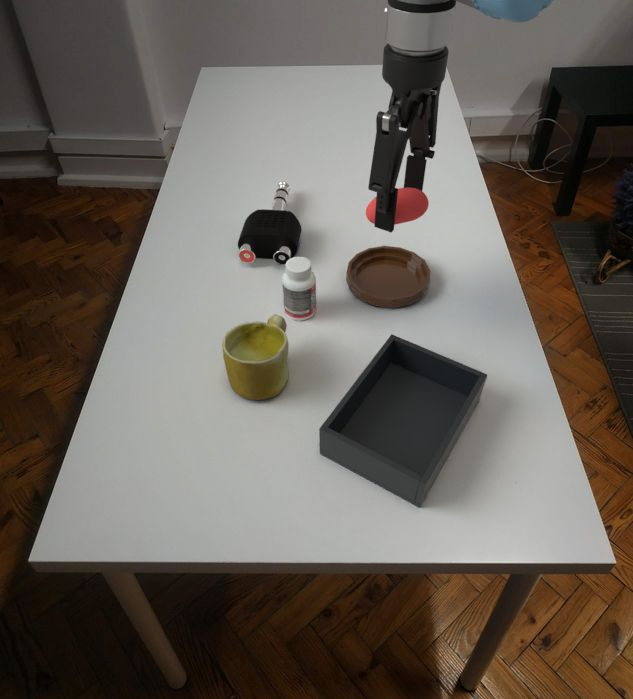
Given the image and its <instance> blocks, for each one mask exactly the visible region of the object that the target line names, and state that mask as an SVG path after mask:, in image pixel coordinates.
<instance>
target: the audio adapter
mask: <svg viewBox="0 0 633 699" xmlns="http://www.w3.org/2000/svg"><path fill="white" fill-rule="evenodd" d="M290 191H291V186H290V184H289V183H288V182H286V181H280V182H279V183H278V184H277V187H276V189H275V192H274V196H273V199H272V203H271V205H270V209H256V210H254V211H253V212H251V213H250V214H249V215H248V216H247V217H246V219H245V220H244V223H243V226H242V229H241V231H240V235H239V238H238V241H237V248H238V250H239V251H238V253H237V254H238V258H239V260H240V261H241V262H242V263H245V264H251V263H253V262H254V261H255V260H256V259H263V260H264V259H267V260H273V261H274V262H275V263H276V264H278V265H280V266H285V265H286V262H287V261H288V260H289V259H291V258H293V257H296V255H297V253H298V249H299V245H300V240H301V236H302V230H303V229H302V225H301V222H300V221H299V219H298V217H297V216H296V215H295V214H294V213H293V211H291V210H286V207H287V204H288V200H289V195H290Z"/></svg>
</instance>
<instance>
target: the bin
mask: <svg viewBox="0 0 633 699" xmlns="http://www.w3.org/2000/svg"><path fill="white" fill-rule="evenodd" d="M487 379H488V374H487V373H485V372H483V371H481V370H478V369H475V368H473V367H471V366H468V365H466V364H464V363H461V362H459V361H456V360H454V359H451V358H449V357H447V356H445V355H442V354H440V353H437V352H435V351H433V350H430V349H428V348H426V347H423V346H421V345H420V344H416V343H413V342H412V341H409V340H407V339H404V338H402V337H400V336H397V335H395V334H393V333H391V334H390V335H389V337H388V338H387V339H386V340H385V343H383V345H382V346H381V347H380V349H379V350H378V351H377V353H375V355H374V357H373V358H372V359H371V360H370V362H369V363H368V364H367V365H366V367H365V368H364V369H363V371H362V372H361V373H360V374H359V376H358V377H357V378H356V380H355V381H354V383H353V384H352V385H351V387H350V388H349V389H348V391H347V392H346V393H345V394H344V396H343V397H342V399H341V400H340V401H339V402H338V403H337V405H336V406H335V408H334V409H333V410H332V412H331V413H330V414H329V415H328V417H327V418H326V420H325V421H324V422H323V423H322V425H320V427H319V429H318V430H319V432H318V434H319V435H318V437H319V454H320V455H321V456H323V457H325V458H327V459H328V460H330V461H332V462H334V463H336V464H338V465H340V466H342V467H344V468H345V469H347V470H349V471H351V472H353V473H354V474H356V475H358V476H360V477H362V478H364V479H365V480H367V481H369V482H371V483H373V484H374V485H376V486H379V487H380V488H381V489H384V490H386V491H387V492H389V493H392V494H393V495H395V496H397V497H398V498H400V499H402V500H404V501H406V502H408V503H410V504H411V505H414V506H415V507H418V509H419V508H421V507H422V505H423V504H424V501H425V500H426V499H427V496H428V494H429V492H430V491H431V489H432V487H433V486H434V484H435V482H436V479H437V478H438V476H439V475H440V473H441V471H442V469H443V467H444V465H445V463H446V462H447V460H448V458H449V456H450V454H451V452H452V451H453V449H454V448H455V445H456V444H457V442H458V440H459V439H460V436H461V435H462V433H463V431H464V429H465V427H466V426H467V424H468V422H469V420H470V418H471V417H472V415H473V413H474V411H475V409H476V408H477V406H478V404H479V402H480V401H481V396H482V394H483V390H484V387H485V384H486V382H487Z"/></svg>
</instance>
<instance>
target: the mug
mask: <svg viewBox="0 0 633 699" xmlns="http://www.w3.org/2000/svg"><path fill="white" fill-rule="evenodd" d="M287 326H288V324H287V321H286V319H285V318H284V317H283V316H282V315H278V314H276V313H274V314H272V315H271V316H270V317H269V318H268V319H267V322H263V321H246V322H243V323H239V324H238V325H235V326H234V327H232V328H231V329H230V330H228V331H227V332H226V333H225V334H224V335H223V338H222V344H221V345H222V358H223V361H224V366H225V370H226V374H227V379H228V382H229V385H230V387H231V389H232V390H233V391H234V393H235V394H236V395H238V396H239V397H241V398H244V399H246V400H255V401H261V400H267V399H271V398H274V397H276V396H277V395H279V394H280V393H281V391H283V389H284V388H285V386H286V384H287V382H288V378H289V371H288V370H289V369H288V359H289V340H288V336H287V332H286V331H287Z"/></svg>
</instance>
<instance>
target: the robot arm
mask: <svg viewBox="0 0 633 699" xmlns="http://www.w3.org/2000/svg"><path fill="white" fill-rule="evenodd" d="M553 1H554V0H387V4H386V6H385V8H384V10H383V12H384V13H383V14H384V15H385V32H384V41H385V42H386V44H385V45H384V47H383V53H382V68H381V69H382V70H381V77H382V80H383V81H384V82H385V83H386V84H387V85H388V86H389V87H390V88H391V90H392V92H391V94H390V95H391V96H390V99H389V103H388V108H387V111H386V112H384V111H381V110H379V111H378V112H377V114H376V118H375V122H376V123H375V128H376V129H375V131H376V133H375V139H374V146H373V153H372V160H371V167H370V173H369V179H368V185H367V186H368V190H369V191H371V192H374V193H376V197H377V198H376V197H375V198H376V212H375V224H373V226H374V228H377V229H380V230H382V231H385V232H389V233H393V232H394V230H395V225H396V224H395V214H396V205H397V195H398V189H399V188H397V187H396V185H397V182H398V178H399V175H400V171H401V166H402V163H403V160H404V155H405V153H406V148H407V144H408V141H409V149H410V150H409V151H410V153H411V154H408V155H407V156H406V164H405V170H404V171H405V172H404V181H403V188H408V187H410V188H416V189H419V190H420V191H422V192H423V188H424V181H425V175H426V168H427V162H428V161H427V159H434V156H435V153H436V151H435V150H431V149H433V148H434V147H436V142H437V141H436V140H437V127H438V116H439V114H438V113H439V104H440V102H439V101H440V94H441V89H442V84H443V82H444V80H445V78H446V71H447V65H448V59H449V52H450V50H449V48H448V47H447V46H448V45H450V44H451V42H452V35H453V28H454V21H455V12H456V6H457V2H458V3H460V4H463V5H465V6H468V7H470V8H472V9H474V10H476V11H479V12H480V13H482V14H483V15H485V16H490V18H492V19H496V20H504V21H509V22H512V23H526V22H529V21H531V20H534V19H535V18H536V17H539V16H538V15H539V14H540V12H542V11H543V10H544V9H547V8H548V7H550V6H551V4H552V3H553ZM400 128H402V129H400ZM403 129H405V130H403ZM426 158H427V159H426ZM394 224H395V225H394Z"/></svg>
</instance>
